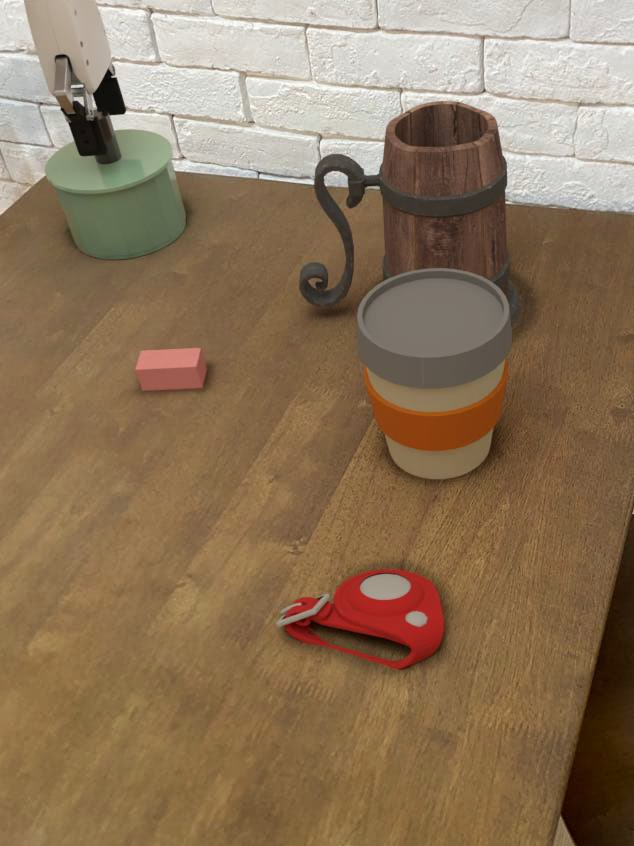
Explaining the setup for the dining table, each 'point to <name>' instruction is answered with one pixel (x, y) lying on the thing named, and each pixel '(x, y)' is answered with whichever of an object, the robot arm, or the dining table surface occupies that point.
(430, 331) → the reusable coffee cup
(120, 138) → the lid
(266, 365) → the dining table surface
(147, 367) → the eraser
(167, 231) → the pot
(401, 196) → the tankard
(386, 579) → the tracker holder
